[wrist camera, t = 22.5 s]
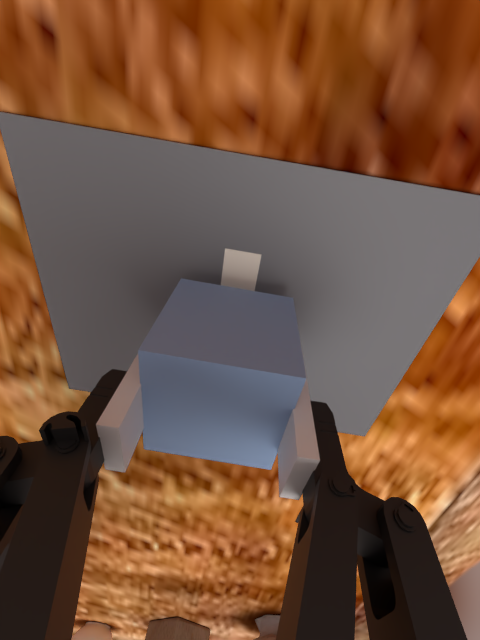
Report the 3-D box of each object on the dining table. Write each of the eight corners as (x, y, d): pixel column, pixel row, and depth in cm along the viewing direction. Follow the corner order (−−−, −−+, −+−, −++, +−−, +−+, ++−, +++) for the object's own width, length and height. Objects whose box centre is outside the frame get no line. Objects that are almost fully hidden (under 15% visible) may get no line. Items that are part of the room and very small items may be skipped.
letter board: (71, 384, 23) (68, 388, 23) (2, 111, 13) (-6, 111, 13) (363, 432, 23) (364, 436, 23) (508, 200, 13) (515, 201, 13)
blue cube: (177, 362, 18) (143, 449, 13) (181, 278, 15) (138, 350, 10) (269, 378, 18) (270, 469, 13) (293, 297, 15) (306, 378, 10)
